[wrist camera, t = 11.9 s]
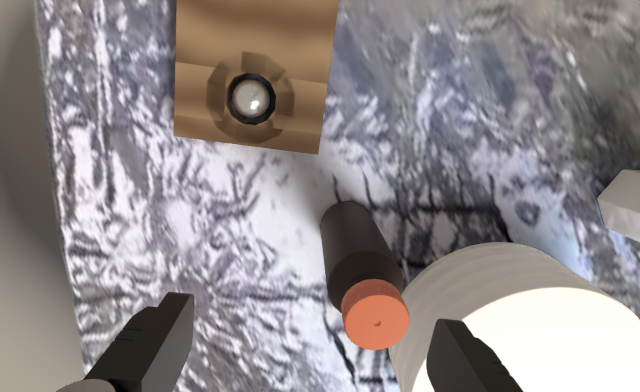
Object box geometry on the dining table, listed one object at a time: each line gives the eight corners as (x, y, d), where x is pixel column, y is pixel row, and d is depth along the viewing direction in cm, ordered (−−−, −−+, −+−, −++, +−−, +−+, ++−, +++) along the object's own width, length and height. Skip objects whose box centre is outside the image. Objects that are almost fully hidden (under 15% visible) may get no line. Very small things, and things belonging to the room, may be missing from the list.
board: (186, -65, 35) (178, -76, 33) (342, -38, 37) (345, -47, 34) (181, 133, 41) (173, 136, 38) (317, 151, 42) (317, 154, 40)
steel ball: (238, 78, 40) (229, 75, 36) (273, 83, 40) (268, 80, 36) (235, 114, 41) (227, 115, 37) (270, 119, 41) (265, 120, 37)
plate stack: (533, 202, 45) (606, 237, 34) (606, 350, 52) (687, 419, 41) (350, 309, 49) (363, 372, 38) (442, 435, 56) (476, 519, 45)
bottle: (328, 255, 46) (345, 371, 27) (313, 208, 44) (319, 297, 25) (378, 241, 46) (431, 347, 27) (365, 193, 44) (412, 270, 25)
